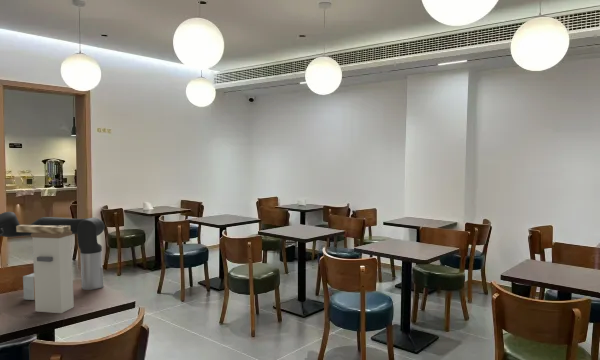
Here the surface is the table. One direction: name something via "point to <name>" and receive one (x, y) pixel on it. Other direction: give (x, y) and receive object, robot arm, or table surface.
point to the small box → (29, 287)
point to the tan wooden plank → (44, 229)
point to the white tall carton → (53, 272)
